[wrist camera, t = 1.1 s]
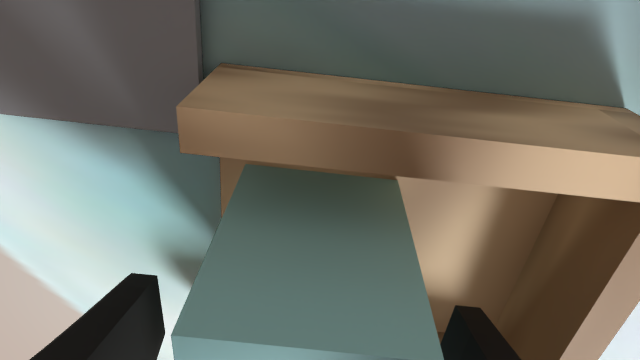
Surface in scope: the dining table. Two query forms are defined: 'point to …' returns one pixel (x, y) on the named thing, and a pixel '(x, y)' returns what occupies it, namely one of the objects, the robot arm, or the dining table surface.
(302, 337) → the block
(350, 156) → the crate
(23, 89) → the coaster
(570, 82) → the dining table surface
